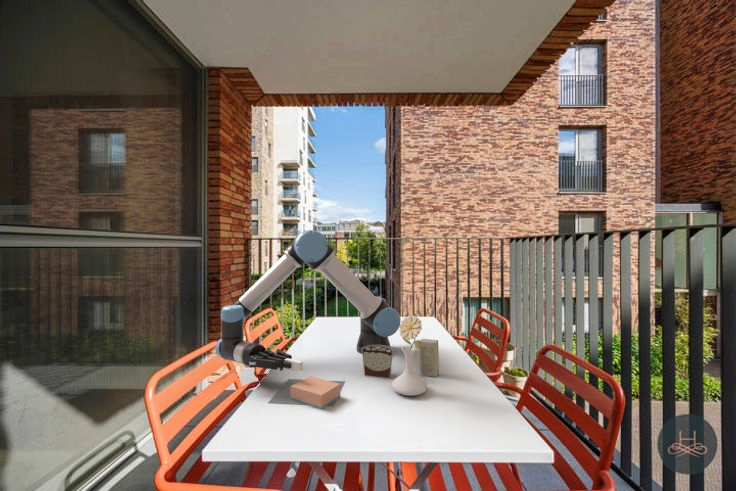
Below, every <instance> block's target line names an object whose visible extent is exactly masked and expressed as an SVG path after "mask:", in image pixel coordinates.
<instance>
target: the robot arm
mask: <svg viewBox="0 0 736 491" xmlns="http://www.w3.org/2000/svg"><path fill="white" fill-rule="evenodd" d="M335 251H336V250H335V248H333V246H332V245H331V244H330V243H329V242H328V241H327V238H326V236H324V234H322V233H321V232H320V231H317V230H314V229H307V230H304V231H301V232H300V233H299V234H297V235H296V236H295V238H294V239H293V240H292V242H291V243H290V244H289V246H287V248H286V249H285V250H284V251H283V252H284V254H283V256H281V257H280V258H279V259H278V260H277V261H276V262H275V263H274V264H273V265H272V266H270V268H269V269H268V270H267V271H266V272H265V273H264V274H263V275H262V276H261V277H260V278H259V279H258V280H256V282H255V283H253V284H252V286H250V288H249V289H248V290H246V292H244V294H243V295H241V296H240V297H239V298H238V299H237V300H236V301H235V302H234V303H233V304H232V305H231V304H230V305H225V306H223V307H222V308H221V314H220V319H221V320H220V322H221V324H220V326H221V328H220V329H221V337H220V339H219V340H218V341H217V343H216V345H215V349H214V350H215V354H216V355H217V357H219V358H221V359H223V360H226V361H230V362H235V363H238V364H242V365H243V366H249V368H259V369H267V370H275V371H276V370H278V369H279V370H280V371H281V372H282V371H284V369H287V370H291V371H295V372H299V373H300V372H302V371H303V368H304V367H303V366H304V365H303V362H304V361H301V360H299V359H297V360H296V359H292V358H293V355H292V354H289V353H287V352H285V351H282V350H281V349H280V348H277V349H276V350H275V351H272V350H269V349H267V348H266V347H265V346H264V344H259V343H256V342H252V341H247V340H244V336H245V334H244V333H245V332H244V328H245V327H244V326H245V325H244V324H245V321H246V319H247V318H248V317H249V316H250V315H252V313H253V312H254V311H255V310H256V309H257V308H258V307H259V306H260V305H261V304H262V303H263V302H264V301H265V300H266V299H267V298H268V297H269V296H271V294H273V292H274V291H275V290H276V289H277V288H278V287H279V286H280V285H281V284H282V283H284V281H286V280H287V278H289V276H290V275H291V274H292V273H293V272H295V270H296V269H298V268H302V267H303V266H304V265H305V264H306V266H308V267H309V268H310V269H311V270H312V271H319V273H321V274H322V276H324V277H325V279H327V280H328V281H329V282H330V283H331V284H332V285H333V286H334V287H335V288H336V289H337V290H338V291H339V292H340V294H342V295H343V296H344V297H345V298H346V299H347V300H348V301H349V302H350V303H351V304H352V306H354V308H356V309H357V310H358V312H360V314H359V316H360V318H359V320H360V327H359V328H360V334H359V335H358V339H357V343H356V351H357V352H358V354H359V353H360V354H362V353H361V349H362V348H363V347H364V346H368V345H386V346H389V347H391V343H390V339H389V337H392V335H395V333H396V332H398V330H400V324H401V321H402V319H401V316H400V314H399V312H398V311H397V309H395V308H393V307H391V305H389V303H387V300H386V298H383V297H381V296H375V295H374V294H373V293H372V292H371V290H370V289H369V288H368V287H366V286H365V285H364V283H363V282H362V281H360V280H359V278H358V277H357V276H356V275H355V274H354V273H353V272H352V271H351V270H350V269H349V268H348V267H347V265H345V263H343V262H342V261H341V259H339V258H338V257H337V256H336V255H335V254H336V253H335Z"/></svg>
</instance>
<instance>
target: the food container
mask: <svg viewBox="0 0 736 491" xmlns="http://www.w3.org/2000/svg"><path fill="white" fill-rule="evenodd" d="M360 354H362V361H363V362H362V363H363V371H364V376H365V377H370V378H380V379H388V380H391V375H392V374H391V372H392V365H393V363H392V362H393V358H394V357H395V353H394V349H393V348H392V347H391V346H390V347H389V346H386V345H368V346H364V347H363V348H362V349H361V353H360Z"/></svg>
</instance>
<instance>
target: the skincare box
mask: <svg viewBox="0 0 736 491" xmlns="http://www.w3.org/2000/svg"><path fill="white" fill-rule="evenodd" d="M419 340H420V342H421V344H422V346H423V348H418V349H419V375H420V376H426V377H435V378H436V377H438V376H439V374H440V361H439V360H440V358H439V357H440V355H439V354H440V353H439V340H438V339H430V338H422V339H419Z"/></svg>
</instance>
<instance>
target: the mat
mask: <svg viewBox="0 0 736 491" xmlns="http://www.w3.org/2000/svg"><path fill="white" fill-rule="evenodd" d="M304 379H305V378H304ZM304 379H302V378H301V379H298V378H288V379H287V380H286V382H284V384H283V385H282V386H281V387H280V388H279V389H278V391H277V392H276V393H275V394H274V395H273V396H272V397H271V398H270V400H268V402H267V404H274V405H292V406H293V405H295V406H307V405H306V404H303V403H300V402H297V401H294V400H291V387H290V386H292V385H294V384H296V383H298V382H300V381H302V380H304ZM330 381H331V382H335V383H339V384H340V393H341V392H342V389H343V388H344V385H345V383H346V380H330ZM337 401H338V399H337V400H335V401H334V402H332V403H331V404H329V405H327V406H326V407H332V408H334V407H335V405H336V403H337Z"/></svg>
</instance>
